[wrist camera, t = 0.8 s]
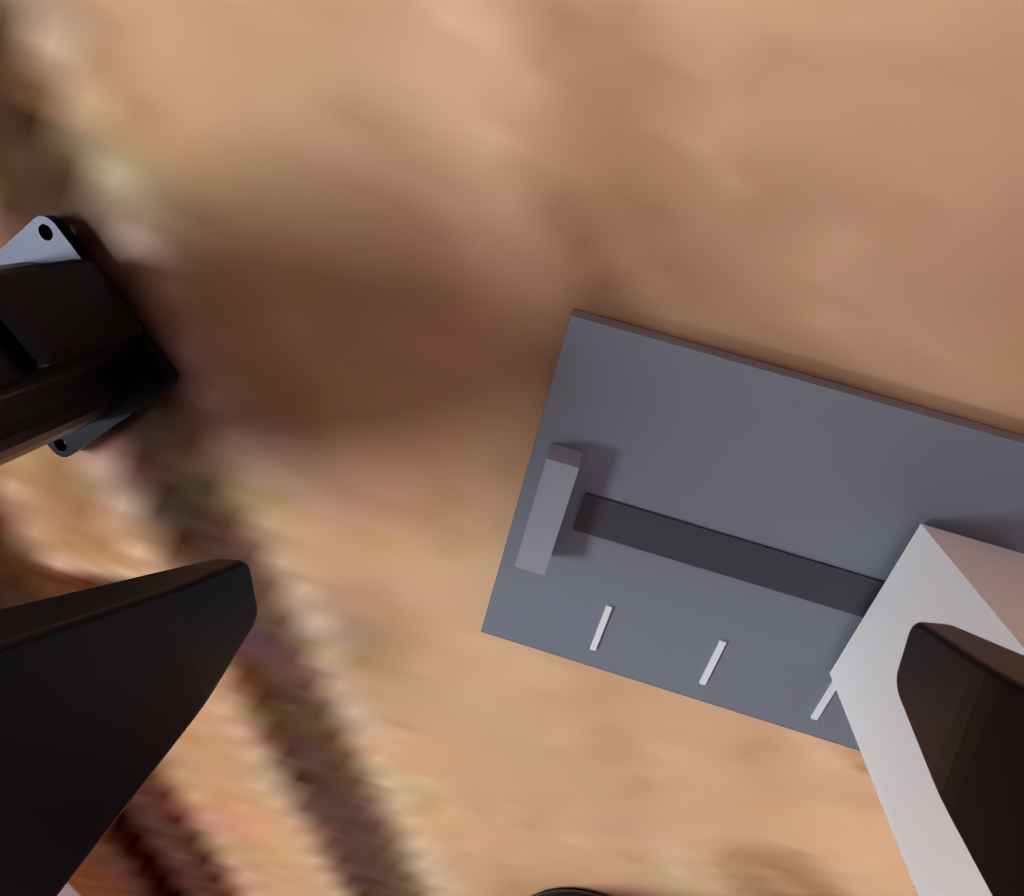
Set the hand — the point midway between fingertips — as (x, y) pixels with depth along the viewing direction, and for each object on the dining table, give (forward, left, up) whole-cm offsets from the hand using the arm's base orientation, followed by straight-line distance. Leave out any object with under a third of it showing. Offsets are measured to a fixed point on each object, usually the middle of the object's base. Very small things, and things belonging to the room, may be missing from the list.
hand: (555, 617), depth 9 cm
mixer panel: (+5, -11, -12) cm, 17 cm away
